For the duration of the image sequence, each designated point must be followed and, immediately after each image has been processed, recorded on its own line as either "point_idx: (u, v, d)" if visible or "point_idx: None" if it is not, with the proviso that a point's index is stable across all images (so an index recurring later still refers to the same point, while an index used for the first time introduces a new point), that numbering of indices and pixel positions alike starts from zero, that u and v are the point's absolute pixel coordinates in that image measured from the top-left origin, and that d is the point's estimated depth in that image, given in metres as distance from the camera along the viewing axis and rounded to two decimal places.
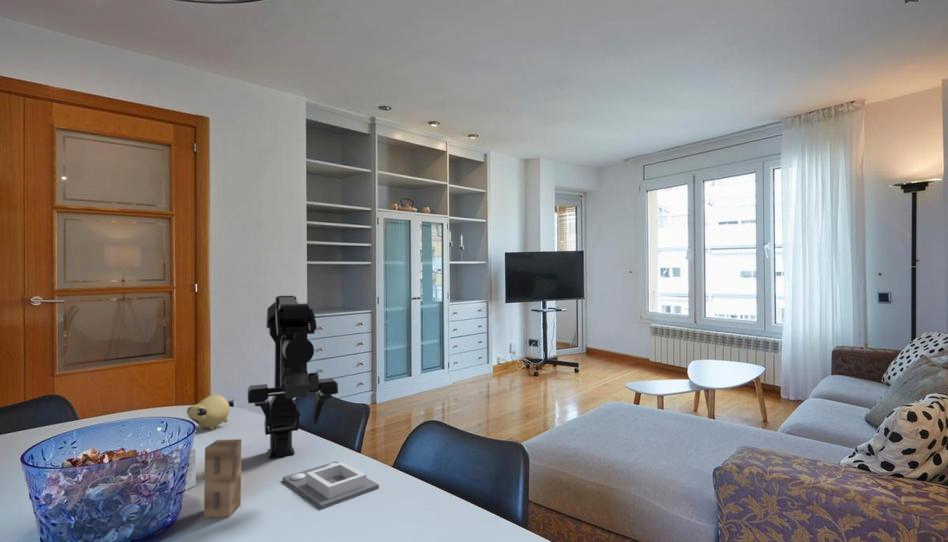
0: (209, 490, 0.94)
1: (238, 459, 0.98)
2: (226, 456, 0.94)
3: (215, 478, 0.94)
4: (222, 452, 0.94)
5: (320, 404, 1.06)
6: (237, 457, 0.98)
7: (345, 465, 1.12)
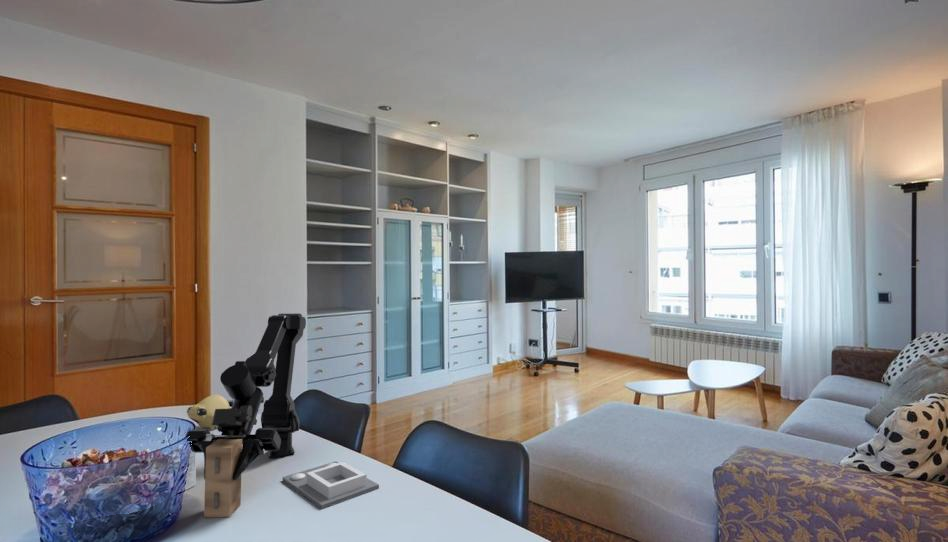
0: (209, 490, 0.94)
1: None
2: (227, 457, 0.94)
3: (216, 477, 0.94)
4: (223, 452, 0.94)
5: (244, 452, 0.98)
6: (238, 457, 0.97)
7: (345, 465, 1.12)
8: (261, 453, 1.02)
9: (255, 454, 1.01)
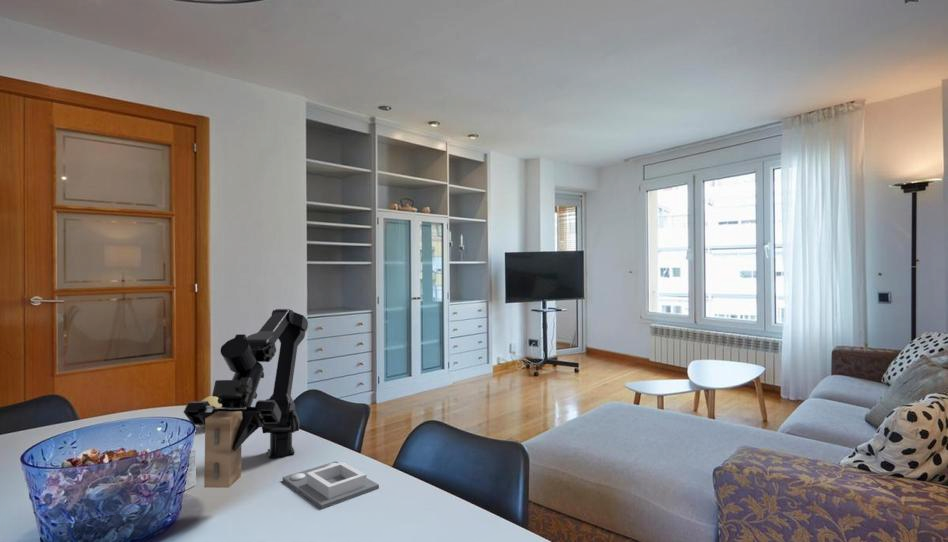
0: (209, 460, 0.94)
1: None
2: (226, 428, 0.94)
3: (215, 448, 0.94)
4: (222, 423, 0.94)
5: (244, 423, 0.98)
6: (237, 429, 0.97)
7: (345, 465, 1.12)
8: (261, 425, 1.02)
9: (255, 426, 1.01)
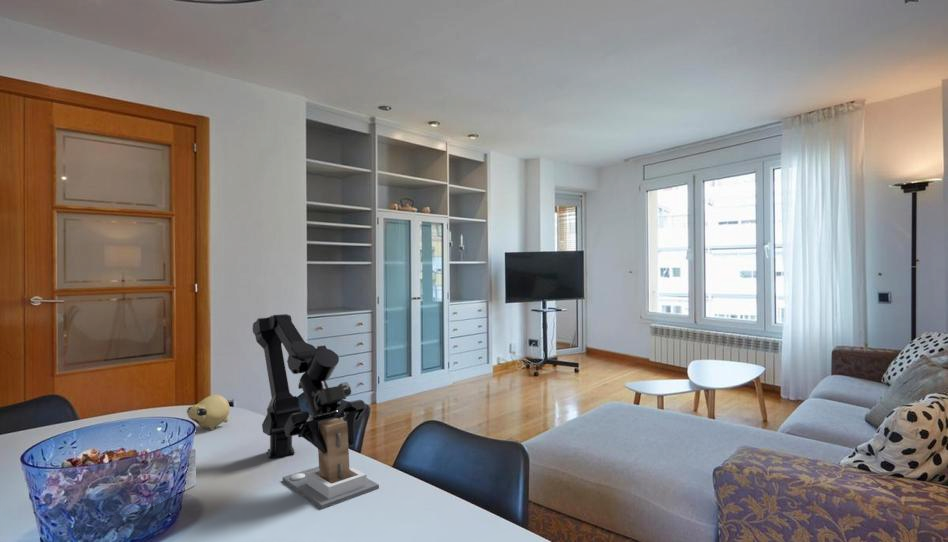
0: (332, 464, 1.05)
1: None
2: (344, 430, 1.07)
3: (337, 451, 1.05)
4: (341, 427, 1.06)
5: (350, 422, 1.11)
6: None
7: None
8: None
9: None
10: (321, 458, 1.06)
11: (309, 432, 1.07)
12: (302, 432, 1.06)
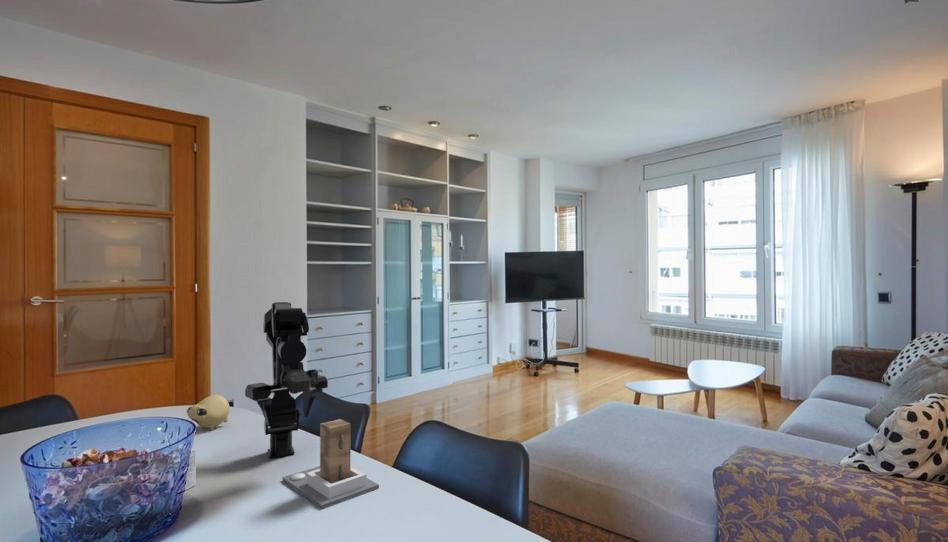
0: (334, 465, 1.04)
1: None
2: (347, 432, 1.07)
3: (339, 453, 1.05)
4: (344, 429, 1.06)
5: (312, 398, 1.19)
6: None
7: None
8: None
9: None
10: (323, 459, 1.06)
11: None
12: None
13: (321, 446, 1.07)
